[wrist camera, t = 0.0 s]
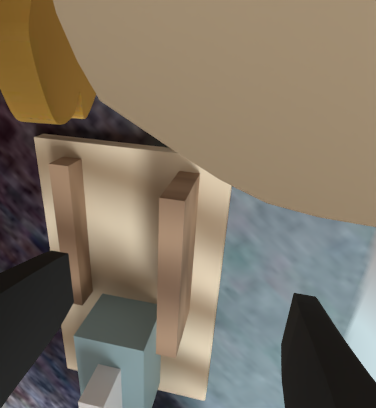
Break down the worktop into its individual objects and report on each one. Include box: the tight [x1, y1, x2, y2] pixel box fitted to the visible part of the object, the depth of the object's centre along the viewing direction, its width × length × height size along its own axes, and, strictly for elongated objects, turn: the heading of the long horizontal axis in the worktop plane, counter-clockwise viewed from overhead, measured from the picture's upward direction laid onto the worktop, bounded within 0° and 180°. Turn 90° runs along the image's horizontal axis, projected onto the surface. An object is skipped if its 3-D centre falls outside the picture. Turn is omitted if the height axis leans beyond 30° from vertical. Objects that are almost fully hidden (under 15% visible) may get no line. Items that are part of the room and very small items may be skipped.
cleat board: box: [34, 134, 232, 401], centre depth 21 cm, size 20×12×5 cm, turn 177°
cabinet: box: [74, 293, 161, 408], centre depth 22 cm, size 8×5×6 cm, turn 177°
